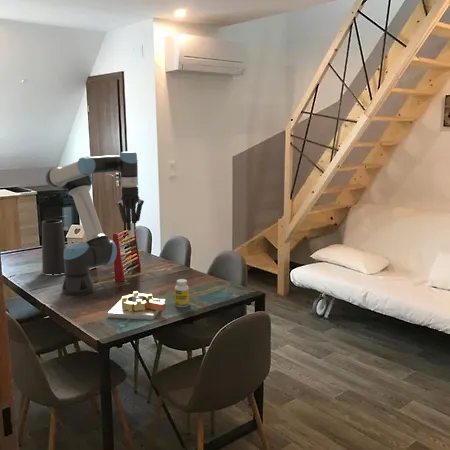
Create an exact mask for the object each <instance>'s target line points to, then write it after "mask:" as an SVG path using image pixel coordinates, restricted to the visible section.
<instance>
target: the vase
mask: <svg viewBox="0 0 450 450" xmlns="http://www.w3.org/2000/svg"><path fill="white" fill-rule="evenodd" d="M65 247H66V239H65V232H64V224H63V220H62V219H46V220H43V221H41V253H42V255H41V256H42V257H41V260H42V269H41V271H42V274H43V273H44V274H52V275H54V274H61V273H65V266H64V257H63V256H64V249H65Z"/></svg>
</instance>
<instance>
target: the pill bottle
mask: <svg viewBox="0 0 450 450" xmlns="http://www.w3.org/2000/svg"><path fill="white" fill-rule="evenodd" d="M174 305H175V306H176V307H177V308H185V307H188V306H189V305H190V287H189V285H188V280H187V279H184V278H180V279H177V280H176V285H175V286H174Z"/></svg>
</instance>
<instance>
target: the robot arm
mask: <svg viewBox="0 0 450 450" xmlns="http://www.w3.org/2000/svg"><path fill="white" fill-rule="evenodd" d="M138 161H139V160H138V153H137V152H136V151H121V152H120V153H119V155H116V154H109V155H100V156H82V157H79V159H78V161H75V162H73V163H70V164H67V165H65V166H55V167H52V168H50V169H48V171H46V174H45V181H46V184H47V186H49V187H50V188H52V189H53V190H55V191H56V190H58V191H64V190H66V191H67V193H68V195H69V196H71V197H72V199H73V202H74V204H75V207H76V211H77V213H78V216H79V220H80V223H81V224H82V228H83V232H84V234H85V237H86V240H85V241H84V242H83V241H79V242H73V243H71V244H68V245H67V246H66V245H65V249H64V256H63V257H64V266H65V274H64V280H63V284H62V288H61V289H62V292H63V293H64V295H65V294H66V296H69V295H70V296H69V297H72V296H73V297H77V296H85V295H89V294H91V293H93V292H94V291H95V284H94V282H93V279H92V277H91V275H90V269H91V268H95V267H100V266H105V265H106V266H107V265H108V264H112V263H113V262H115V260H116V258H117V254H118V249H117V245H116V243H115V241H114V240H111V239H109V237H108V235H107V234H105V233H104V232H103V229H102V225H101V222H100V219H99V217H98V214H97V210H96V208H95V205H94V202H93V199H92V196H91V193H90V191H91V190H92V189H91V188H92V187H91V186H92V185H93V182H94V181H93V176H92V175H95V174H103V173H106V174H107V173H120V181H121V182H120V185H121V198H120V200H119V201H117V202H116V205H117V207H118V210H119V213H120V217H121V220H122V222H123V223H126V230H127V231H128V237H130V238H135V230H136V229H137V226H136V224H137V223H138V222H140V219H141V214H142V209H143V205H144V203H145V201H144V200H142V199H141V198H140V196H139V186H138V185H139V177H138V172H139V171H138V170H139V169H138V168H139V167H138ZM63 293H62V294H63Z"/></svg>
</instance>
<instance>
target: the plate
mask: <svg viewBox="0 0 450 450" xmlns="http://www.w3.org/2000/svg"><path fill="white" fill-rule="evenodd" d="M131 299H132V302H136V300H137V299H141V302H142V301H143V296H141V295H135V296H132V297H131ZM152 300H153V301H158V302H163V303H165V305H166V299H165V298H155V297H153V299H152ZM159 312H160V311H158V310H153V309H145V310H138V311H134V310H133V311H131V310H126V309H124V308H122V303H121V299H120V300H118V301H117V303H116V304H115V305H114V306H113V307H111V309H110V310H109V311H108V312H107V318H117V319H118V318H119V319H132V320H133V319H135V320H150V321H153V320H155V318H156V317H157V316H158V314H159Z"/></svg>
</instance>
